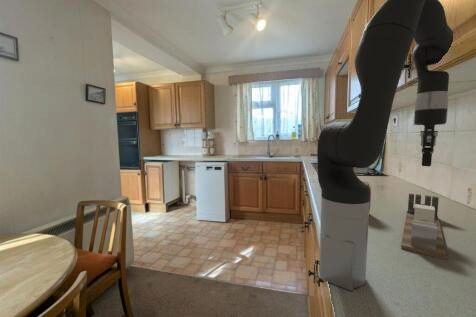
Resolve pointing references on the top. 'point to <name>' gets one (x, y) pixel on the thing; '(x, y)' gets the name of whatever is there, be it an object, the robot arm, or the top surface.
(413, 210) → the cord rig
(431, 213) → the sleeve
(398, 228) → the top surface
